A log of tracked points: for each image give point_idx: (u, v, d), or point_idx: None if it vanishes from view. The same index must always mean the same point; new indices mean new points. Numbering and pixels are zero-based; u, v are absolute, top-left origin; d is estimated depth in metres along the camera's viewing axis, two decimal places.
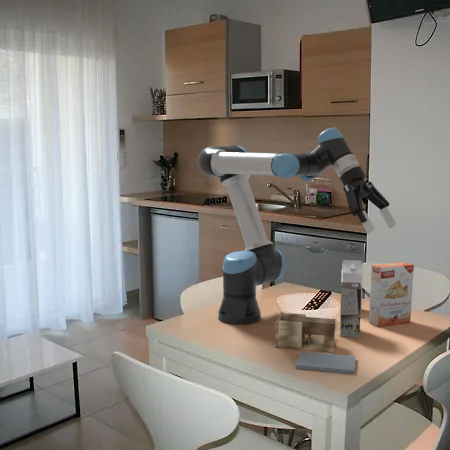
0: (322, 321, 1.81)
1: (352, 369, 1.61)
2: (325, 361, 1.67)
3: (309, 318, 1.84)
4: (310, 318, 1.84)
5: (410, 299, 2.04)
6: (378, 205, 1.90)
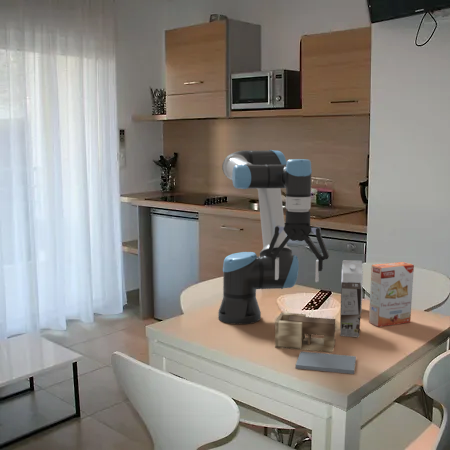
0: (322, 321, 1.81)
1: (352, 369, 1.61)
2: (325, 361, 1.67)
3: (309, 318, 1.84)
4: (310, 318, 1.84)
5: (410, 299, 2.04)
6: None
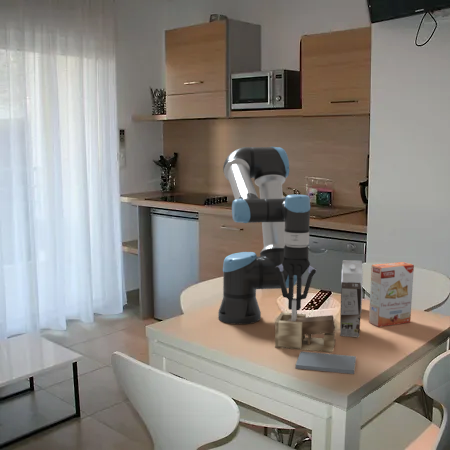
0: (320, 319, 1.81)
1: (352, 369, 1.61)
2: (325, 361, 1.67)
3: (307, 318, 1.84)
4: (308, 318, 1.84)
5: (410, 299, 2.04)
6: None
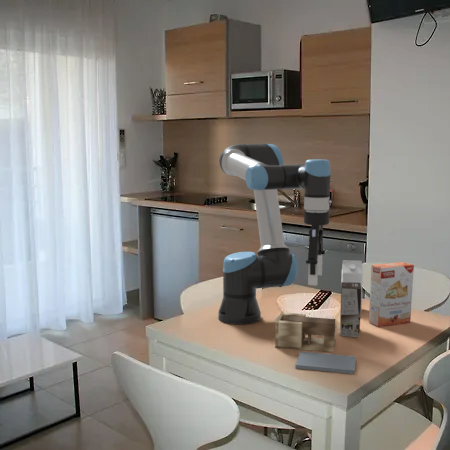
0: (322, 321, 1.81)
1: (352, 369, 1.61)
2: (325, 361, 1.67)
3: (309, 318, 1.84)
4: (310, 318, 1.84)
5: (410, 299, 2.04)
6: None
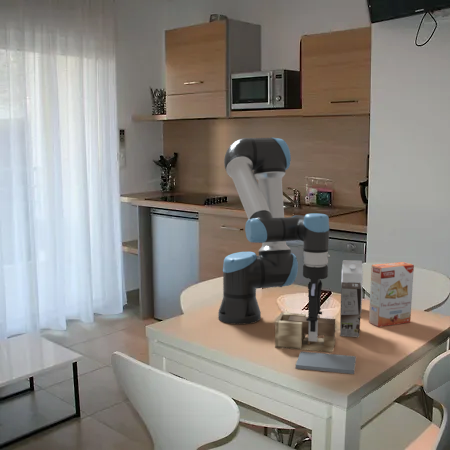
0: (322, 321, 1.81)
1: (352, 369, 1.61)
2: (325, 361, 1.67)
3: None
4: None
5: (410, 299, 2.04)
6: None
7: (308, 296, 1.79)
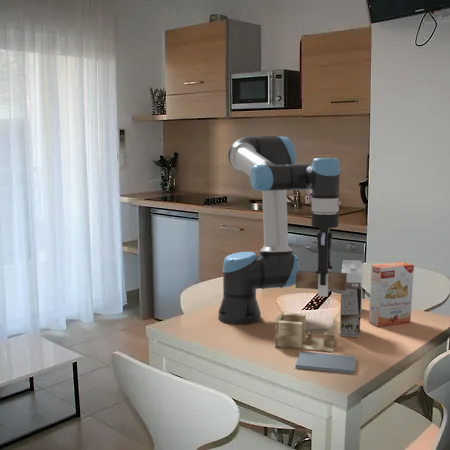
0: (333, 274, 1.67)
1: (352, 369, 1.61)
2: (325, 361, 1.67)
3: None
4: None
5: (410, 299, 2.04)
6: None
7: None
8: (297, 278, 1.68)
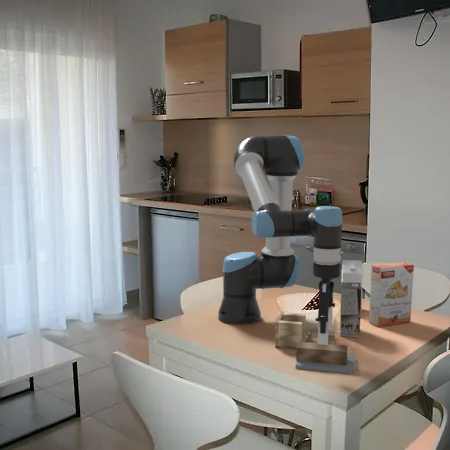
0: (333, 348, 1.66)
1: (352, 369, 1.61)
2: None
3: (319, 345, 1.69)
4: (320, 345, 1.69)
5: (410, 299, 2.04)
6: None
7: None
8: (298, 351, 1.67)
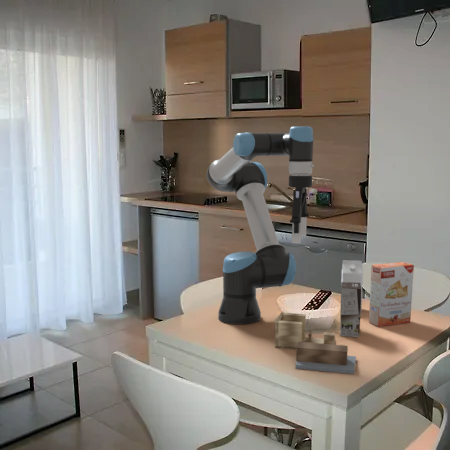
0: (333, 348, 1.66)
1: (352, 369, 1.61)
2: None
3: (319, 345, 1.69)
4: (320, 345, 1.69)
5: (410, 299, 2.04)
6: None
7: None
8: (298, 351, 1.67)
